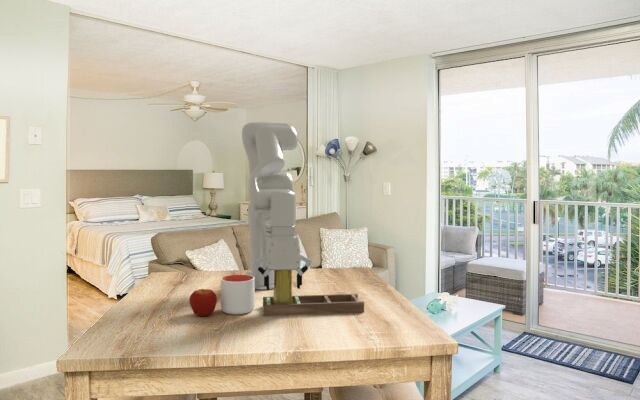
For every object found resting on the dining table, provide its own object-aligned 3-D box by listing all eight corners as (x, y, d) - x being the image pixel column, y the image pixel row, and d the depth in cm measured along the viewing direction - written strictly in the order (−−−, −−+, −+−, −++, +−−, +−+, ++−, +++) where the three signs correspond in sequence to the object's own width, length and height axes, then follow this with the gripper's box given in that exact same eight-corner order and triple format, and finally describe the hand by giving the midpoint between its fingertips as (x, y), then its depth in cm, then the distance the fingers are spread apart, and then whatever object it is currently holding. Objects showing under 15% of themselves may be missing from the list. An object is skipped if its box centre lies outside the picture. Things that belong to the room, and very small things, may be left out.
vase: (290, 313, 139) (290, 265, 138) (270, 311, 140) (270, 264, 139) (295, 306, 145) (295, 261, 144) (276, 305, 146) (276, 260, 145)
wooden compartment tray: (262, 306, 146) (262, 296, 146) (356, 302, 150) (356, 293, 150) (263, 315, 136) (263, 305, 136) (364, 311, 141) (364, 302, 141)
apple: (193, 320, 132) (192, 293, 132) (187, 313, 139) (186, 287, 138) (220, 316, 136) (219, 290, 135) (213, 309, 143) (212, 284, 142)
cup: (260, 307, 145) (260, 275, 144) (244, 317, 135) (244, 283, 135) (231, 304, 148) (231, 273, 147) (214, 313, 138) (214, 280, 138)
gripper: (254, 233, 136) (254, 292, 137) (313, 232, 138) (313, 290, 139) (253, 230, 143) (254, 286, 144) (310, 229, 146) (309, 284, 147)
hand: (283, 288), depth 142 cm, fingers open, 9 cm apart
